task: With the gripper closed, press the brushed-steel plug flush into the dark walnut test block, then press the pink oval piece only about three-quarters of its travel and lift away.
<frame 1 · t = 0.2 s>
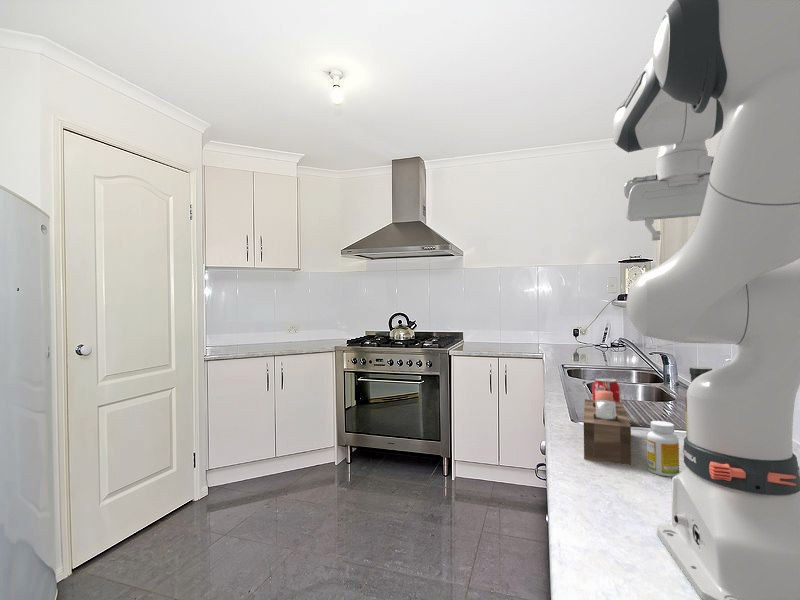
hand: (682, 238, 84), 47 cm above the countertop, fingers open, 8 cm apart
pink oval piece: (604, 405, 104), point 8 cm above the countertop, slide at 0.0 cm
supplement bottle: (663, 472, 82), on the countertop
steel plug: (605, 417, 93), point 8 cm above the countertop, slide at 0.0 cm
soda can: (606, 421, 118), on the countertop
plug block: (605, 444, 98), on the countertop
sauce bottle: (704, 460, 88), on the countertop
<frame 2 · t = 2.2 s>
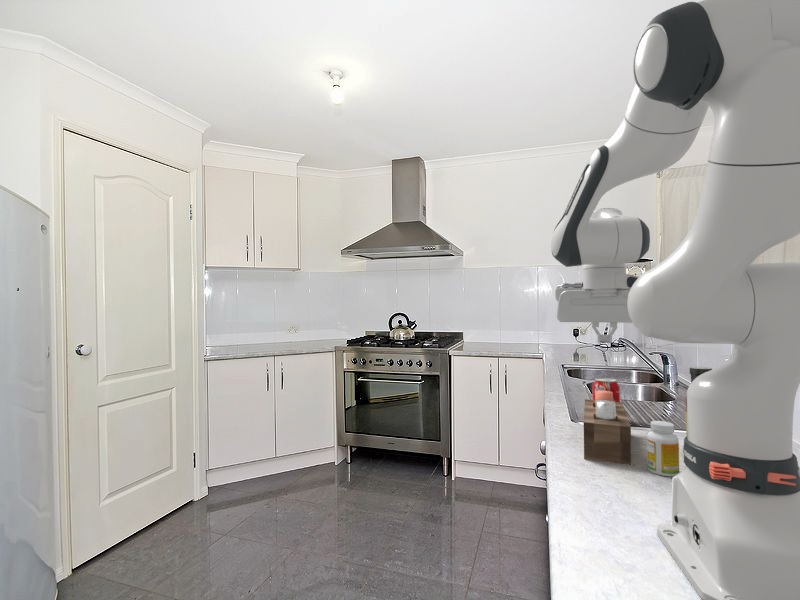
hand: (604, 342, 93), 25 cm above the countertop, fingers closed
nothing on the countertop moved.
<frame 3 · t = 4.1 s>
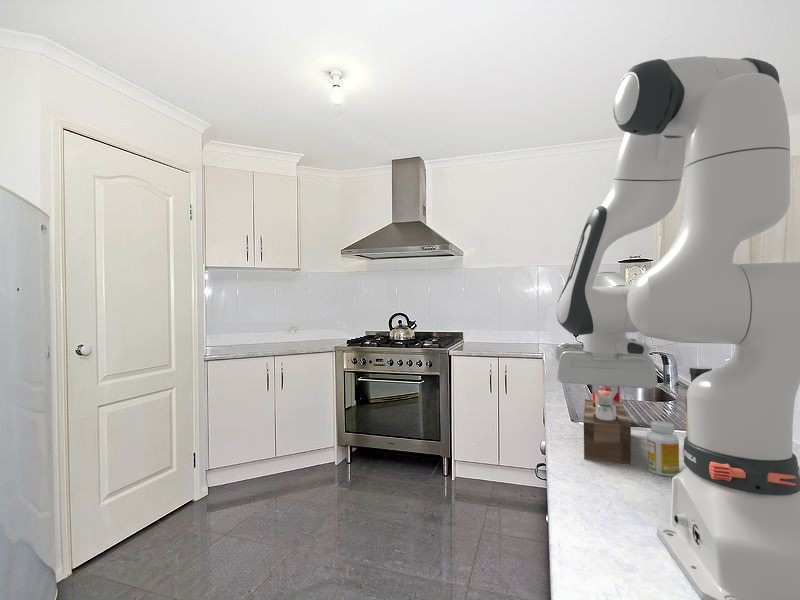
hand: (605, 405, 93), 11 cm above the countertop, fingers closed, pressing on steel plug
steel plug: (605, 420, 93), point 7 cm above the countertop, slide at 0.8 cm, touching gripper
everything else where it was.
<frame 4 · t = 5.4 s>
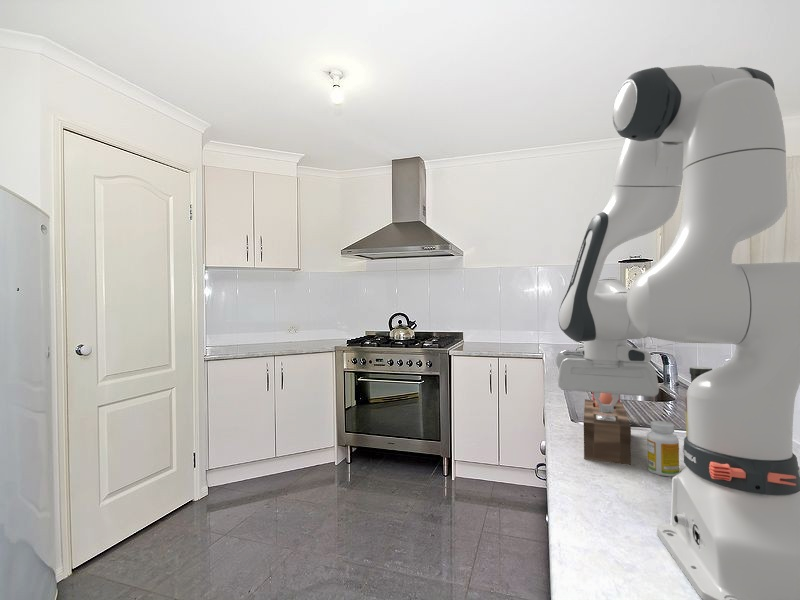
hand: (606, 412, 92), 9 cm above the countertop, fingers closed
steel plug: (605, 432, 93), point 5 cm above the countertop, slide at 3.3 cm
everything else where it was.
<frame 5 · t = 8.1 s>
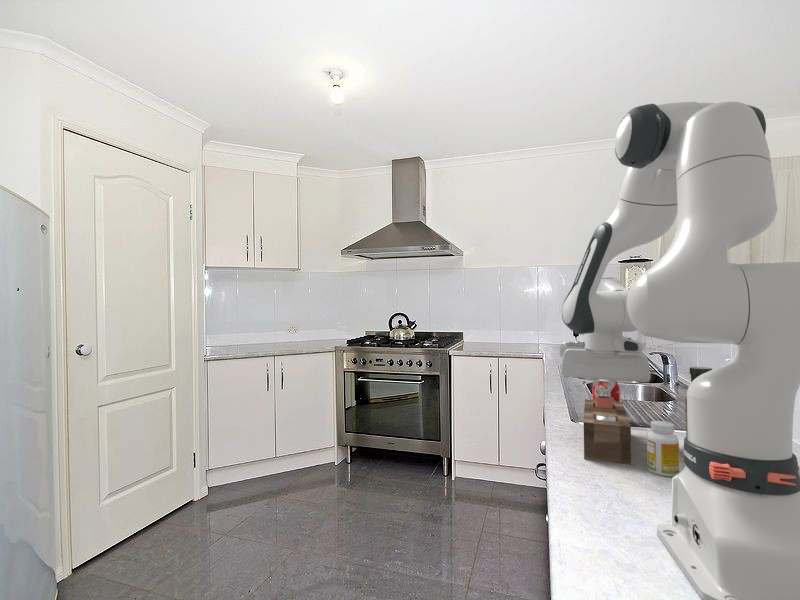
hand: (604, 397, 104), 10 cm above the countertop, fingers closed, pressing on pink oval piece
pink oval piece: (604, 411, 104), point 7 cm above the countertop, slide at 1.3 cm, touching gripper
everything else where it was.
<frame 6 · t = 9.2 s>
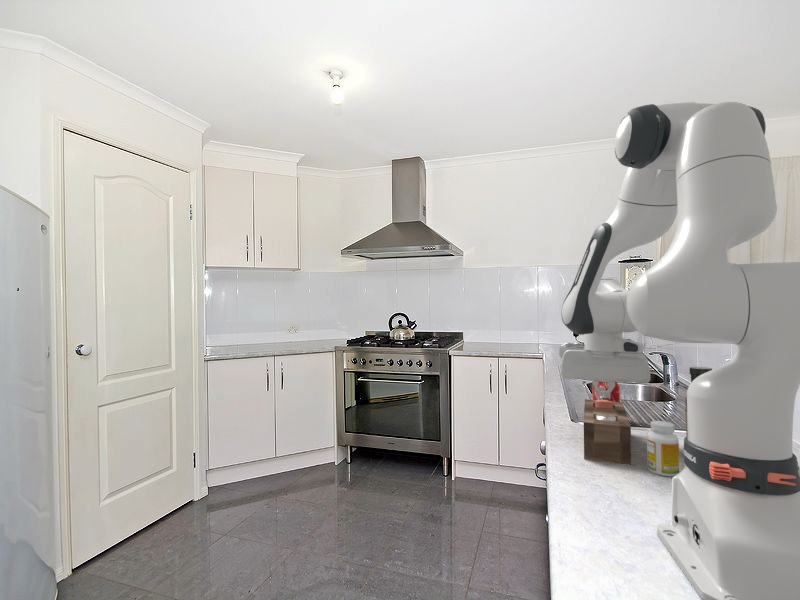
hand: (603, 398, 103), 10 cm above the countertop, fingers closed
pink oval piece: (604, 415, 104), point 6 cm above the countertop, slide at 2.4 cm
everything else where it was.
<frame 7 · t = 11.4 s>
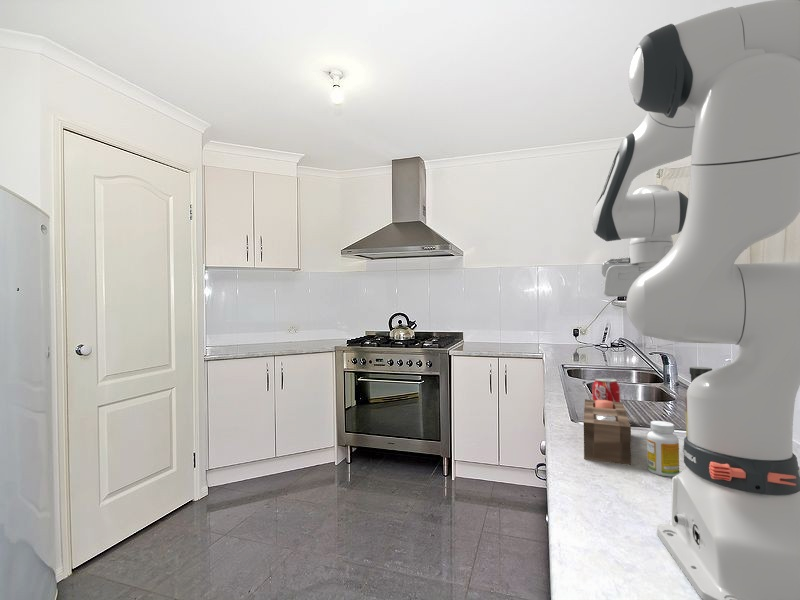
hand: (651, 315, 96), 31 cm above the countertop, fingers closed
nothing on the countertop moved.
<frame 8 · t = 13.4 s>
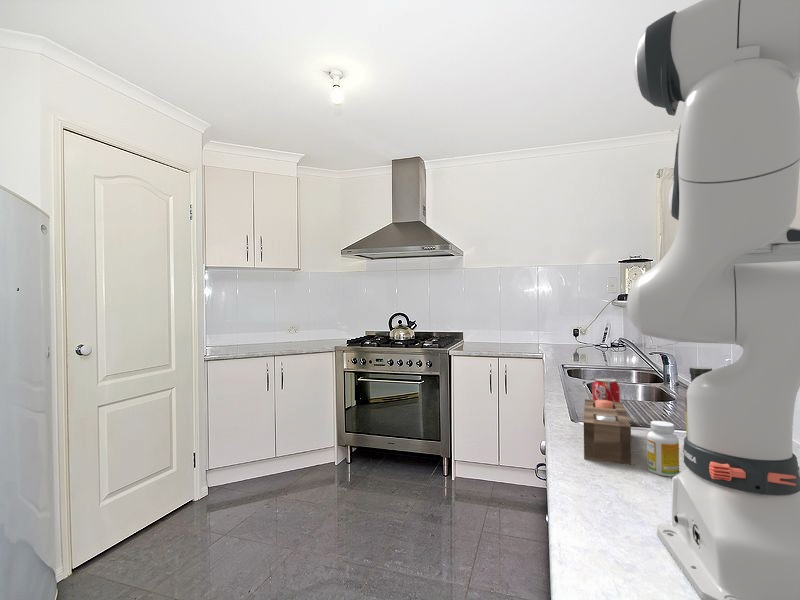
hand: (752, 306, 83), 33 cm above the countertop, fingers closed
nothing on the countertop moved.
at the end: steel plug slide at 3.3 cm; pink oval piece slide at 2.4 cm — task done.
